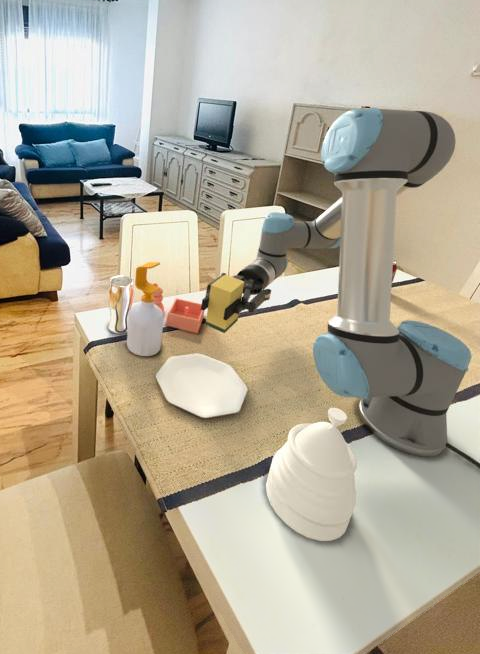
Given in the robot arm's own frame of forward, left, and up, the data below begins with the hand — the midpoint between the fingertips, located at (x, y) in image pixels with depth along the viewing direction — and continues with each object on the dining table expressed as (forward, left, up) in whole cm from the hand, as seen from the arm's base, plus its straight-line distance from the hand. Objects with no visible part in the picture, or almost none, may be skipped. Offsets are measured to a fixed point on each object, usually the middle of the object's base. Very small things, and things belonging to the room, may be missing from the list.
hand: (214, 309), depth 87 cm
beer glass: (+24, +12, -18) cm, 33 cm away
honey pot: (-33, +1, -18) cm, 37 cm away
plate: (-4, +3, -18) cm, 19 cm away
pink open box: (+24, -5, -18) cm, 31 cm away
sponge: (+3, -5, -6) cm, 8 cm away
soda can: (+16, -85, -18) cm, 89 cm away
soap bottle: (+14, +9, -18) cm, 25 cm away
